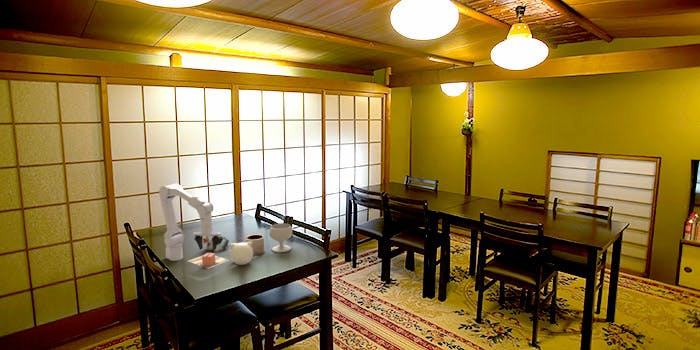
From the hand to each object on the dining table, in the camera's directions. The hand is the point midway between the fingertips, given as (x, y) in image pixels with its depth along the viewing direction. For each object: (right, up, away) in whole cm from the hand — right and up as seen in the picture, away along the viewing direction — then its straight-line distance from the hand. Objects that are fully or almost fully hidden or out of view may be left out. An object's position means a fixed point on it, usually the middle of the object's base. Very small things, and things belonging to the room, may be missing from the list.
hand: (208, 249), depth 208 cm
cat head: (+17, -10, +4) cm, 20 cm away
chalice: (+35, -6, +27) cm, 45 cm away
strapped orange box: (0, -8, +2) cm, 8 cm away
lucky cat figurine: (-4, -6, +25) cm, 26 cm away
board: (-2, -9, +7) cm, 11 cm away
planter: (+20, -6, +23) cm, 31 cm away
